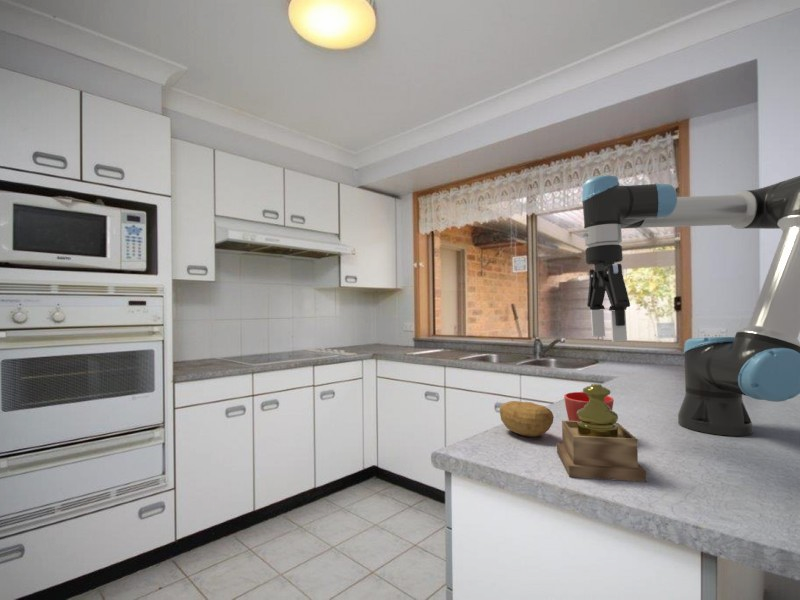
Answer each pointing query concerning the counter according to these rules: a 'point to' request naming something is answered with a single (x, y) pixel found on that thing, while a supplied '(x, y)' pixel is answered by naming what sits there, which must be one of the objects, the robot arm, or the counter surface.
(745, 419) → the robot arm
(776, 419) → the counter surface
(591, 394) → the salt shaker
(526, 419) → the potato
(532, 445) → the counter surface
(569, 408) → the flower pot
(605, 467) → the brown wooden square box
